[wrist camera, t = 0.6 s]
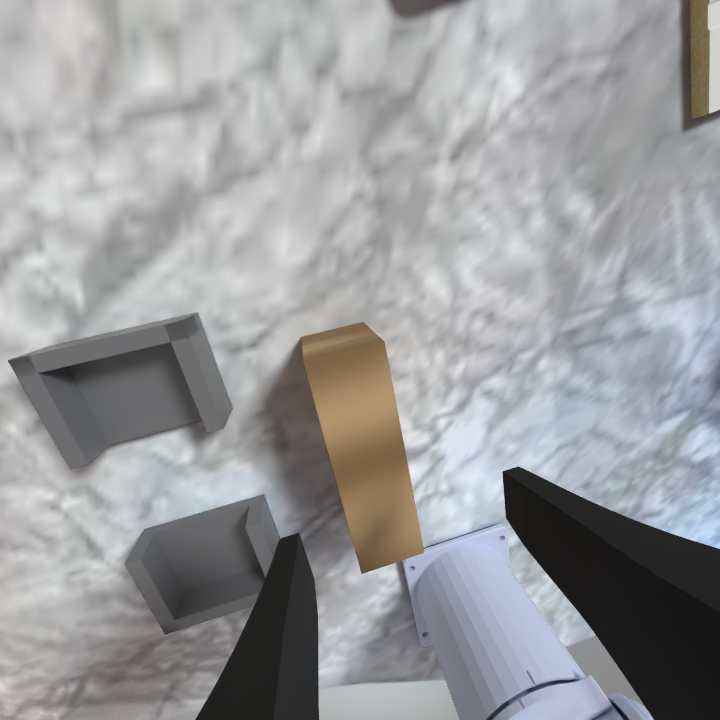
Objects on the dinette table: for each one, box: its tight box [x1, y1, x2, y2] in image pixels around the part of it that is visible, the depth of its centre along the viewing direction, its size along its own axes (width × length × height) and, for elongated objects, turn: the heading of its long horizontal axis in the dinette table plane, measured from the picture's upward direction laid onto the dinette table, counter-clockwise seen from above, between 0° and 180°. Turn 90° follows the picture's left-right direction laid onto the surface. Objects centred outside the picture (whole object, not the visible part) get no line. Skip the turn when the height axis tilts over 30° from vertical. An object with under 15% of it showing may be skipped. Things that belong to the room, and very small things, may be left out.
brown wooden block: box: [301, 322, 424, 574], centre depth 18 cm, size 12×4×5 cm, turn 12°
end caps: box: [8, 313, 280, 634], centre depth 18 cm, size 17×7×2 cm, turn 12°
